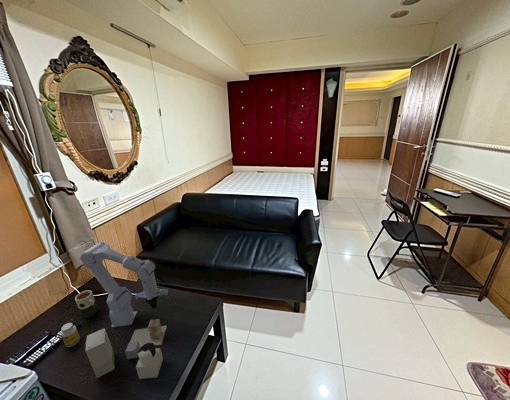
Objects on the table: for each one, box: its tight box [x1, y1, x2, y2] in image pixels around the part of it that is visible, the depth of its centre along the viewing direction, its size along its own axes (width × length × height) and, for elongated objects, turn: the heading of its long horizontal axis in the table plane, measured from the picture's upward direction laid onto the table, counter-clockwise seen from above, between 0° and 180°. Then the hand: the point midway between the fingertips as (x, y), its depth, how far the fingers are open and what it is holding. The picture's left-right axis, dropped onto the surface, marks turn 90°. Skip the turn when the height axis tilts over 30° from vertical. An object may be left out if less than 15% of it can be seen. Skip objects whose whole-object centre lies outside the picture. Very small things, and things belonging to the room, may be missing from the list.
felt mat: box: [129, 325, 167, 348], centre depth 101 cm, size 15×10×1 cm, turn 99°
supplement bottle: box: [60, 322, 81, 348], centre depth 98 cm, size 5×5×10 cm
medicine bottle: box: [135, 343, 164, 380], centre depth 86 cm, size 7×7×12 cm
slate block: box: [124, 342, 140, 360], centre depth 93 cm, size 4×4×5 cm
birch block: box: [147, 318, 162, 340], centre depth 100 cm, size 4×4×8 cm
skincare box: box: [85, 327, 116, 379], centre depth 87 cm, size 8×7×16 cm
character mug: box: [74, 289, 98, 319], centre depth 112 cm, size 11×7×13 cm, turn 70°
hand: (154, 307), depth 105 cm, fingers closed
